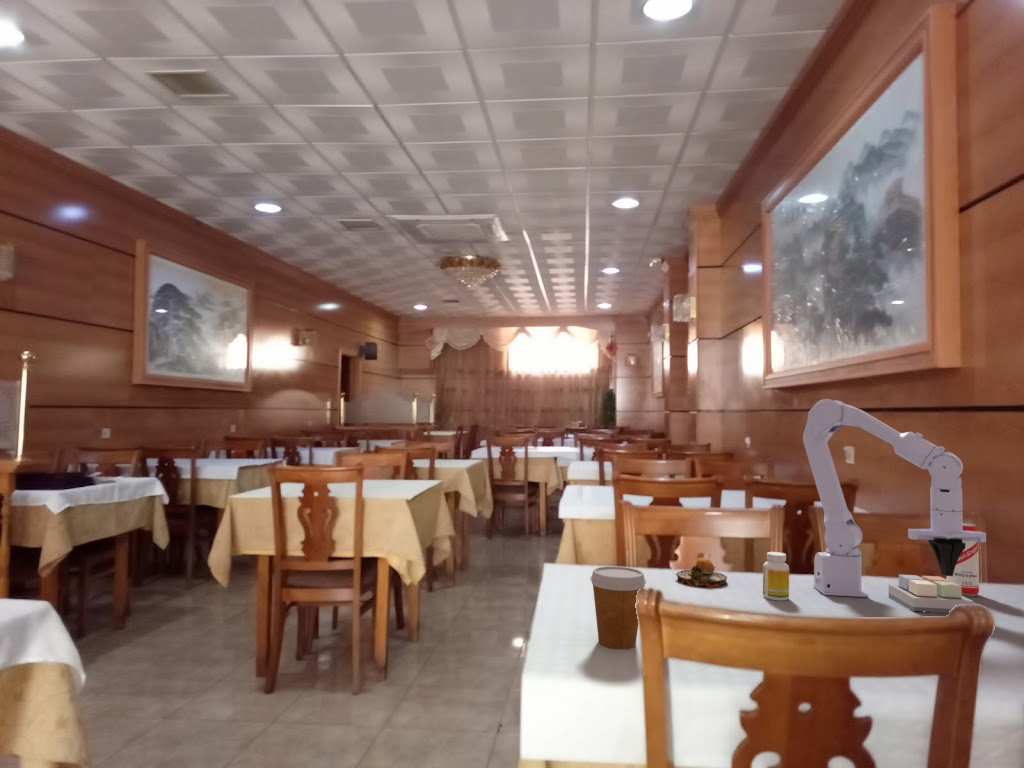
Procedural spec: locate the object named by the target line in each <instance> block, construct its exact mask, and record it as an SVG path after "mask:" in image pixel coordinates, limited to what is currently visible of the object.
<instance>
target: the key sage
mask: <svg viewBox="0 0 1024 768" xmlns="http://www.w3.org/2000/svg"><path fill="white" fill-rule="evenodd" d="M933 583H934V584H936V585H937V595H939V596H941V597H954V598H962V597H961V586H960V585H958V584H956V583H953V582H946V581H933Z"/></svg>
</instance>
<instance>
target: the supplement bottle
mask: <svg viewBox="0 0 1024 768" xmlns="http://www.w3.org/2000/svg"><path fill="white" fill-rule="evenodd" d="M766 560H767V561H765V562H764V563H763V565H762V597H764V598H765V599H767V600H772V601H773V600H774V601H780V602H781V601H788V599H789V597H790V567H789V566H790V565H789V564H787V563H786V562H787V554H786V553H785V552H779V551H769V552H766Z"/></svg>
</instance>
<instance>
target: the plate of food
mask: <svg viewBox="0 0 1024 768" xmlns="http://www.w3.org/2000/svg"><path fill="white" fill-rule="evenodd" d="M710 555H711V554H709V555H708V557H711V556H710ZM715 569H716V567H715V566H714V563H713V562H712V560H710V559H709V558H707V557H699V558H697V560H696V564H695V565H693V566H692V568H691V569H685V570H680V571H678V572H676V573H675V575H676V577H677V581H678V583H680V584H683V585H684V584H685V582H687V584H688V585H689V586H691V587H696V588H697V587H698V586H701V587H702V586H706V587H707V588H711V589H712V588H715V587H716V588H722V587H723V588H724V587H726V586H727V585H728V582H727V580H728V576H727V575H726V574H723V573H719V572H715Z"/></svg>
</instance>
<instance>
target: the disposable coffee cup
mask: <svg viewBox="0 0 1024 768" xmlns="http://www.w3.org/2000/svg"><path fill="white" fill-rule="evenodd" d="M589 578H590V581H591V584H592V588H593V597H594V607H595V608H594V609H595V617H596V629H597V636H598V637H597V638H598V639H597V640H598V643H599V644H600V645H601V646H604V647H607V648H610V649H616V650H619V649H623V650H625V649H631V648H634V647H635V646H636V644H637V636H638V630H639V623H638V619H637V614H636V608H635V603H636V595H637V591H638V590H639V589H643V590H644V588H645V586H646V584H647V579H645V573H644V572H643V571H642V570H640V569H638V568H633V567H627V566H617V565H616V566H614V565H611V566H610V565H609V566H607V565H606V566H599V567H596V568H594V569H593V570H592V574H591V575H590V577H589Z"/></svg>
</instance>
